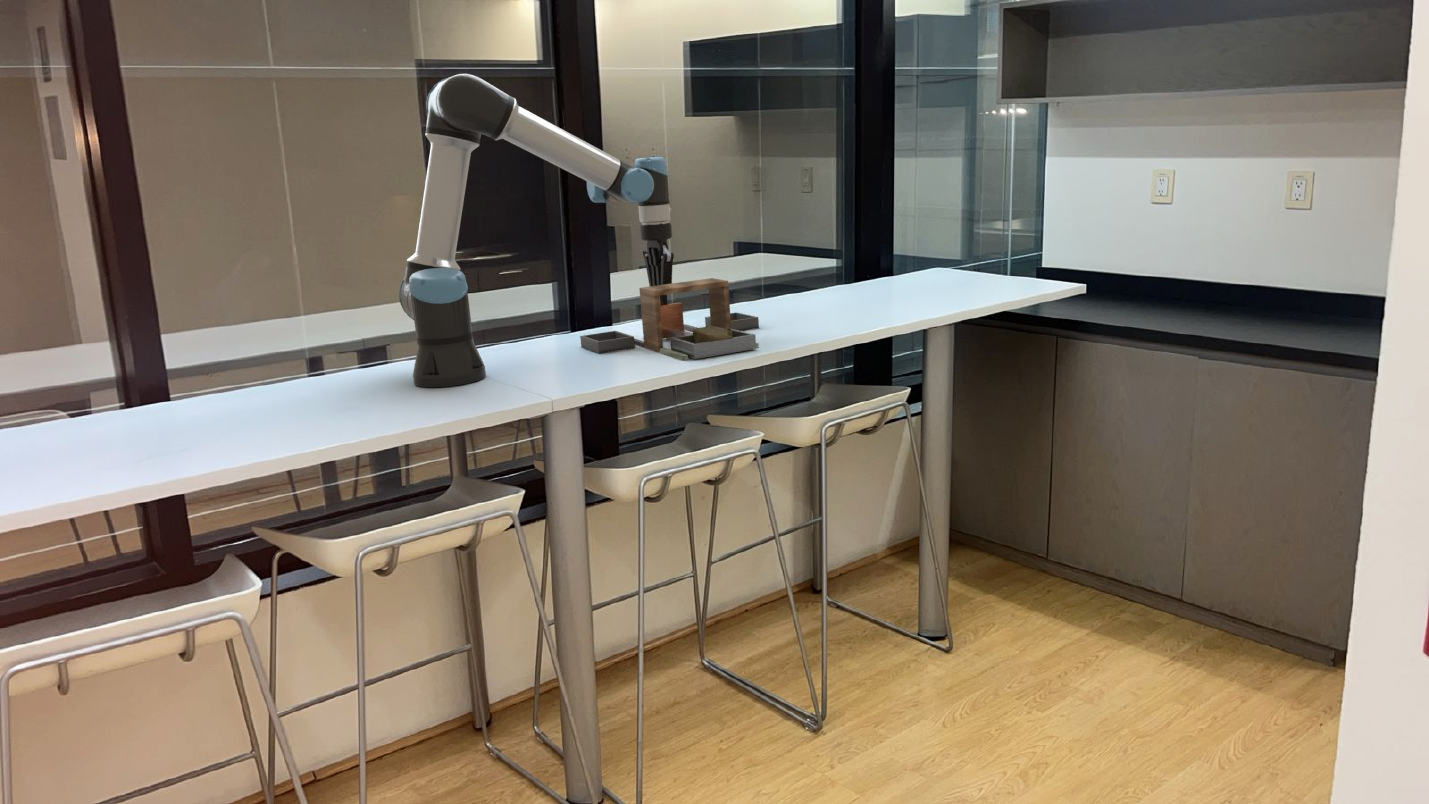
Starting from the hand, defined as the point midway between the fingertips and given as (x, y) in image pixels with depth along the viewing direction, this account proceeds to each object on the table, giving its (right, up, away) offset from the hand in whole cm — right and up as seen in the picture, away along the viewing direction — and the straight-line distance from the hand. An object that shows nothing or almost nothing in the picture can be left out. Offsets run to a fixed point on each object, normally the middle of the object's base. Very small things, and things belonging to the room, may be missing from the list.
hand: (663, 319), depth 260 cm
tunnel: (+5, -6, -9) cm, 12 cm away
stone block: (+12, -9, -21) cm, 26 cm away
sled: (+8, -7, -13) cm, 17 cm away
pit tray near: (-13, -7, -8) cm, 17 cm away
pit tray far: (+17, -2, +7) cm, 19 cm away
